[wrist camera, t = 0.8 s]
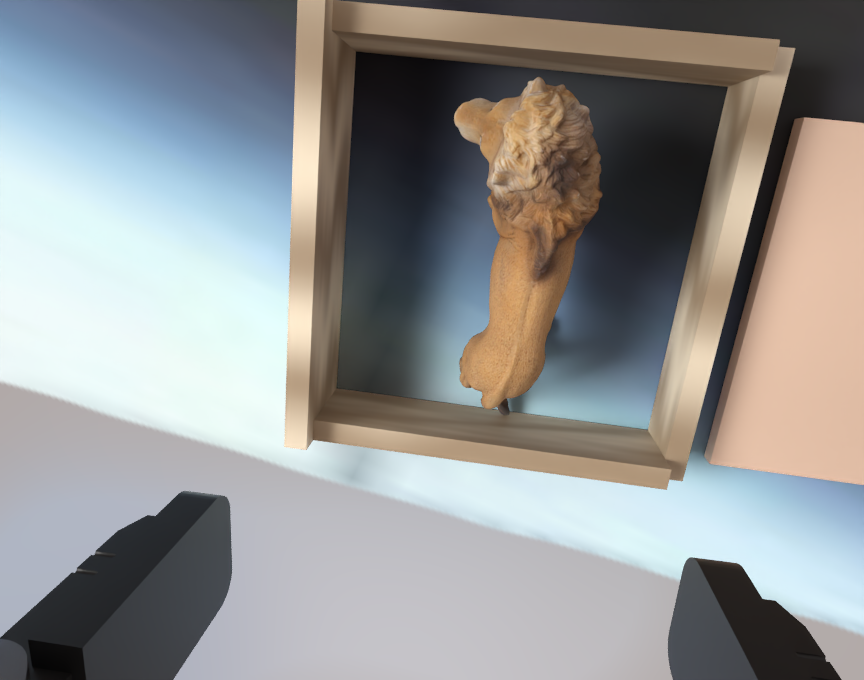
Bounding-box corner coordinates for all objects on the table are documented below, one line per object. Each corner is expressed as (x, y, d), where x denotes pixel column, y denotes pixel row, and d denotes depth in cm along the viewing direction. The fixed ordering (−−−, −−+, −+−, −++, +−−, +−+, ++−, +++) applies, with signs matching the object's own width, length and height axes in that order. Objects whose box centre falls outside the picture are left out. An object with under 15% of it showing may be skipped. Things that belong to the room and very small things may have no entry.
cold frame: (334, 24, 25) (298, -11, 20) (758, 63, 24) (825, 36, 19) (317, 403, 30) (284, 446, 25) (663, 450, 29) (697, 505, 24)
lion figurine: (464, 101, 25) (450, 65, 17) (586, 101, 25) (636, 65, 16) (456, 407, 30) (441, 504, 21) (560, 413, 29) (589, 514, 21)
